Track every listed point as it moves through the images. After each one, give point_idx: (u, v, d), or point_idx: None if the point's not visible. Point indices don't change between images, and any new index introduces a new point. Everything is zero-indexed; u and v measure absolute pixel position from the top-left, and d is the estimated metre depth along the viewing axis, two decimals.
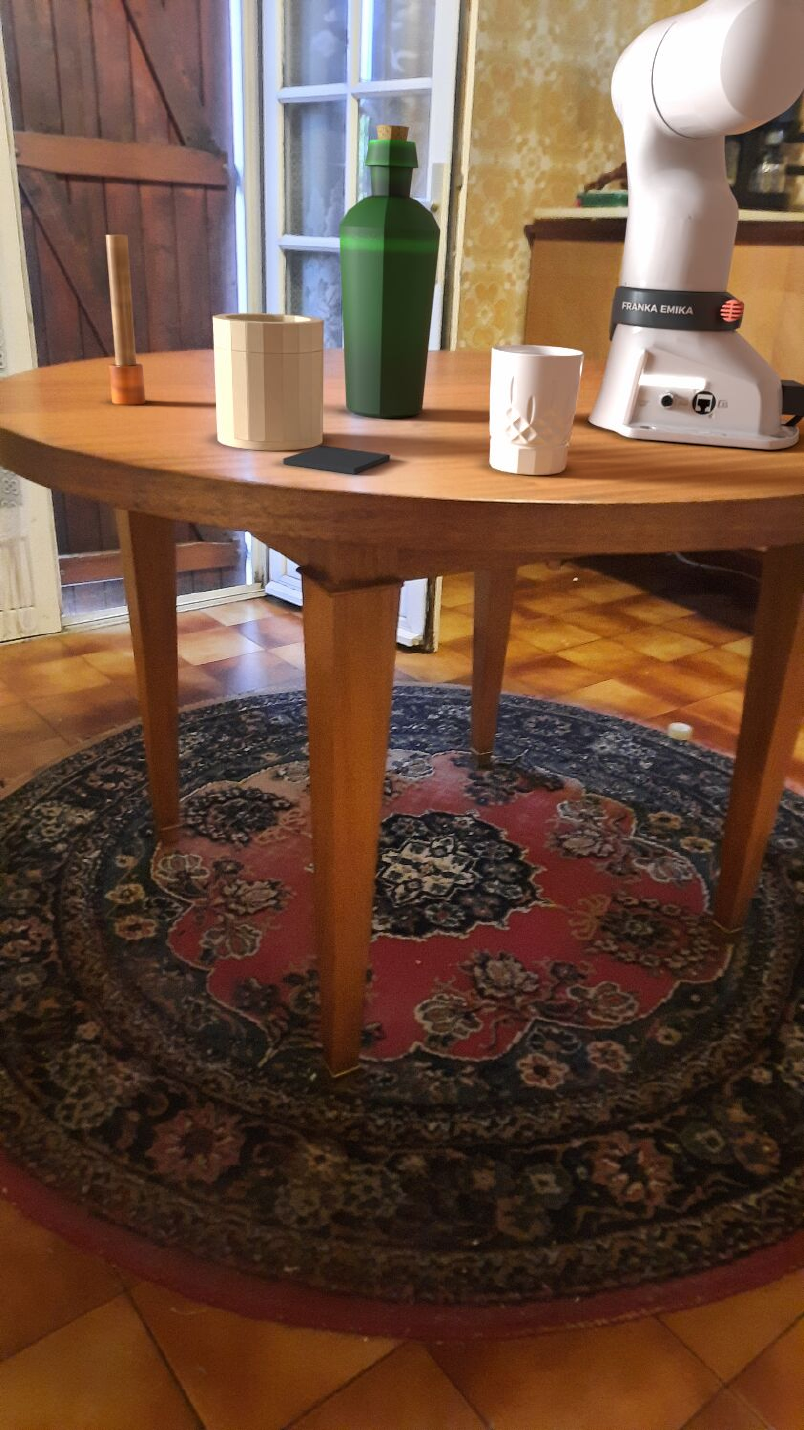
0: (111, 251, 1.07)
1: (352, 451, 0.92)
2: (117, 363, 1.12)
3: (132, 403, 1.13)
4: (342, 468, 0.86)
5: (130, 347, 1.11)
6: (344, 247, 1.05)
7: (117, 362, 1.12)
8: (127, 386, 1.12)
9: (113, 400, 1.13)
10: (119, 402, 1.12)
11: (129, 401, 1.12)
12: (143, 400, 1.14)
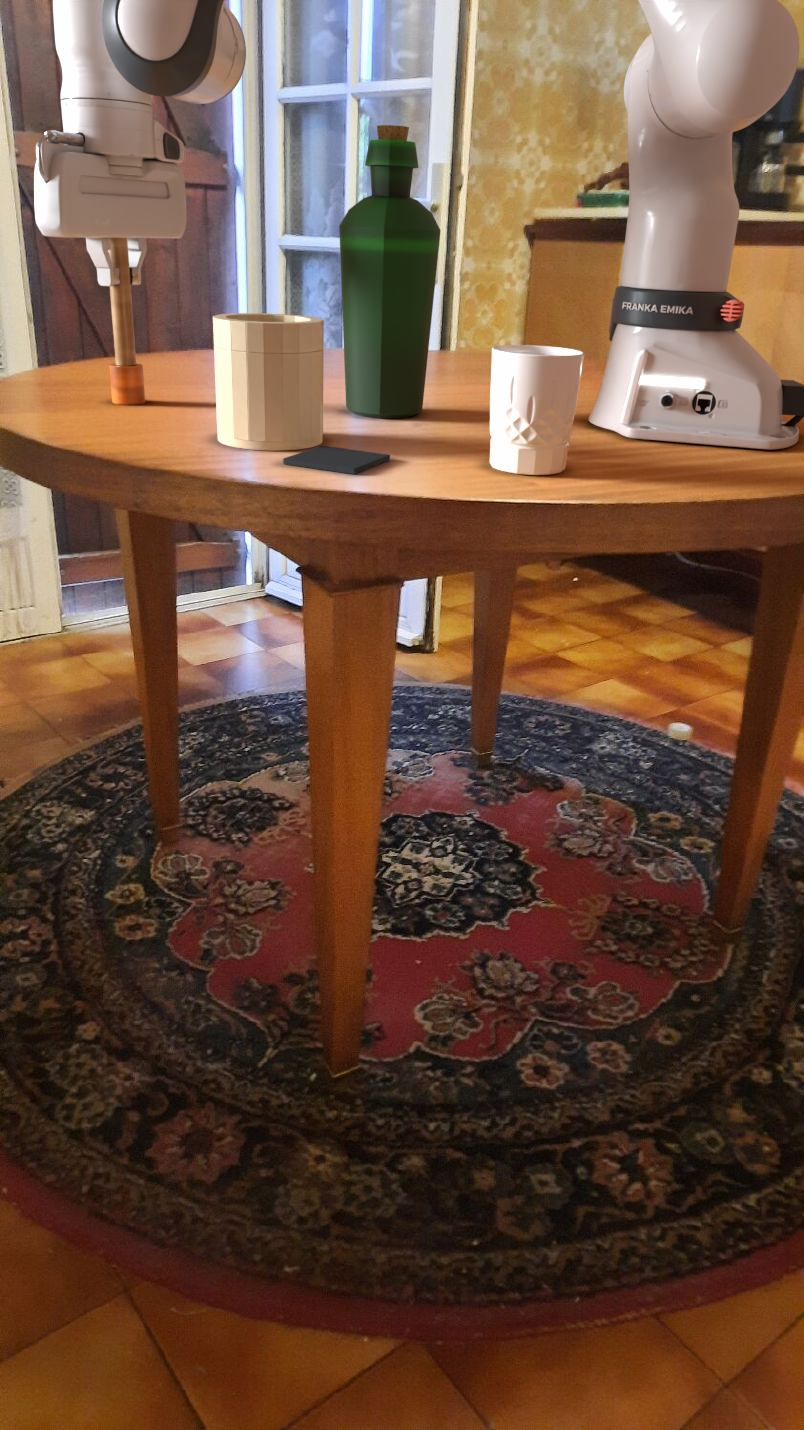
0: (111, 251, 1.07)
1: (352, 451, 0.92)
2: (117, 363, 1.12)
3: (132, 403, 1.13)
4: (342, 468, 0.86)
5: (130, 347, 1.11)
6: (344, 247, 1.05)
7: (117, 362, 1.12)
8: (127, 386, 1.12)
9: (113, 400, 1.13)
10: (119, 402, 1.12)
11: (129, 401, 1.12)
12: (143, 400, 1.14)
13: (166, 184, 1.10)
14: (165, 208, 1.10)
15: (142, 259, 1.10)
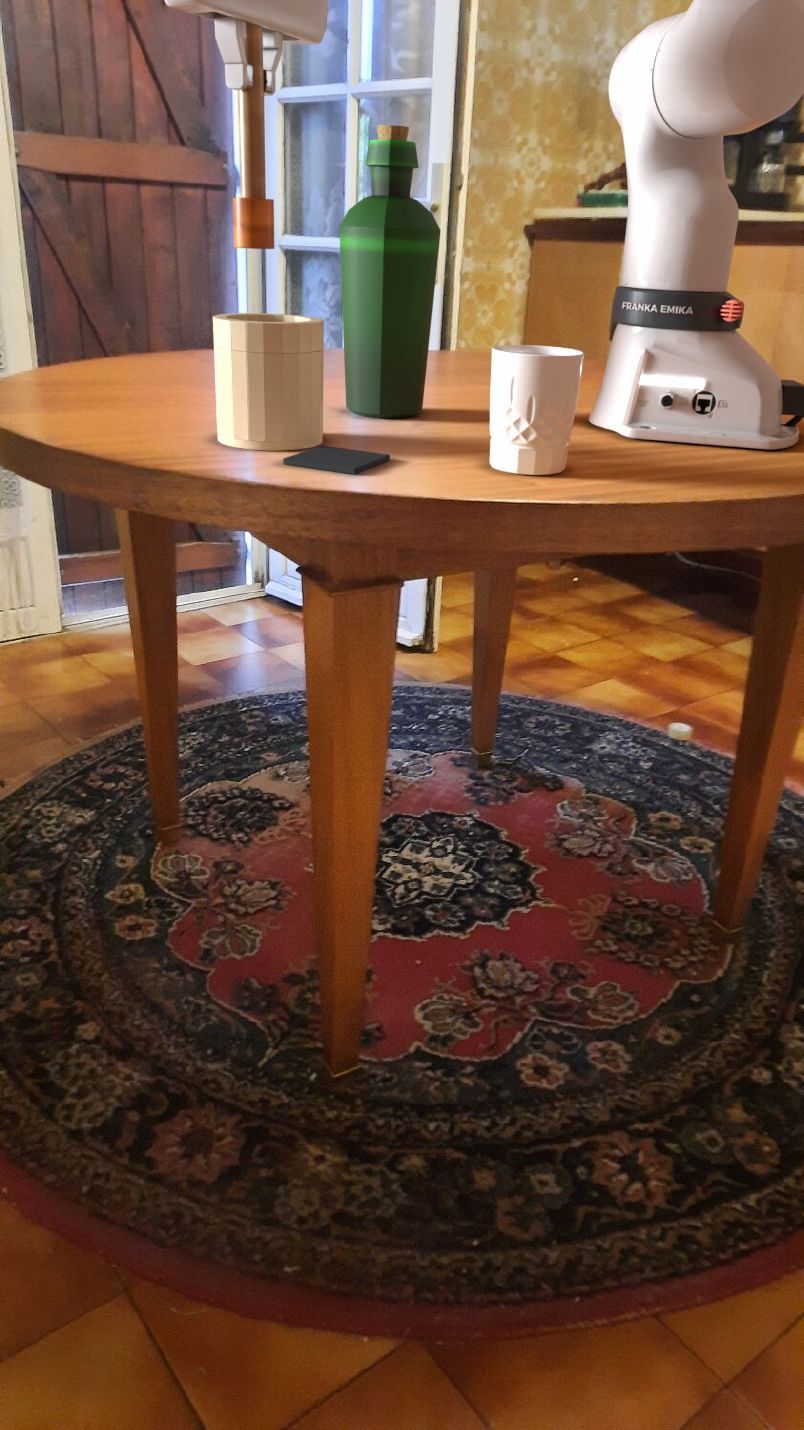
0: (243, 43, 0.84)
1: (352, 451, 0.92)
2: (243, 195, 0.89)
3: (260, 247, 0.91)
4: (342, 468, 0.86)
5: (260, 174, 0.89)
6: (344, 247, 1.05)
7: (243, 194, 0.89)
8: (256, 224, 0.90)
9: (236, 244, 0.91)
10: (245, 245, 0.90)
11: (257, 244, 0.90)
12: (273, 245, 0.92)
13: None
14: None
15: (277, 61, 0.88)
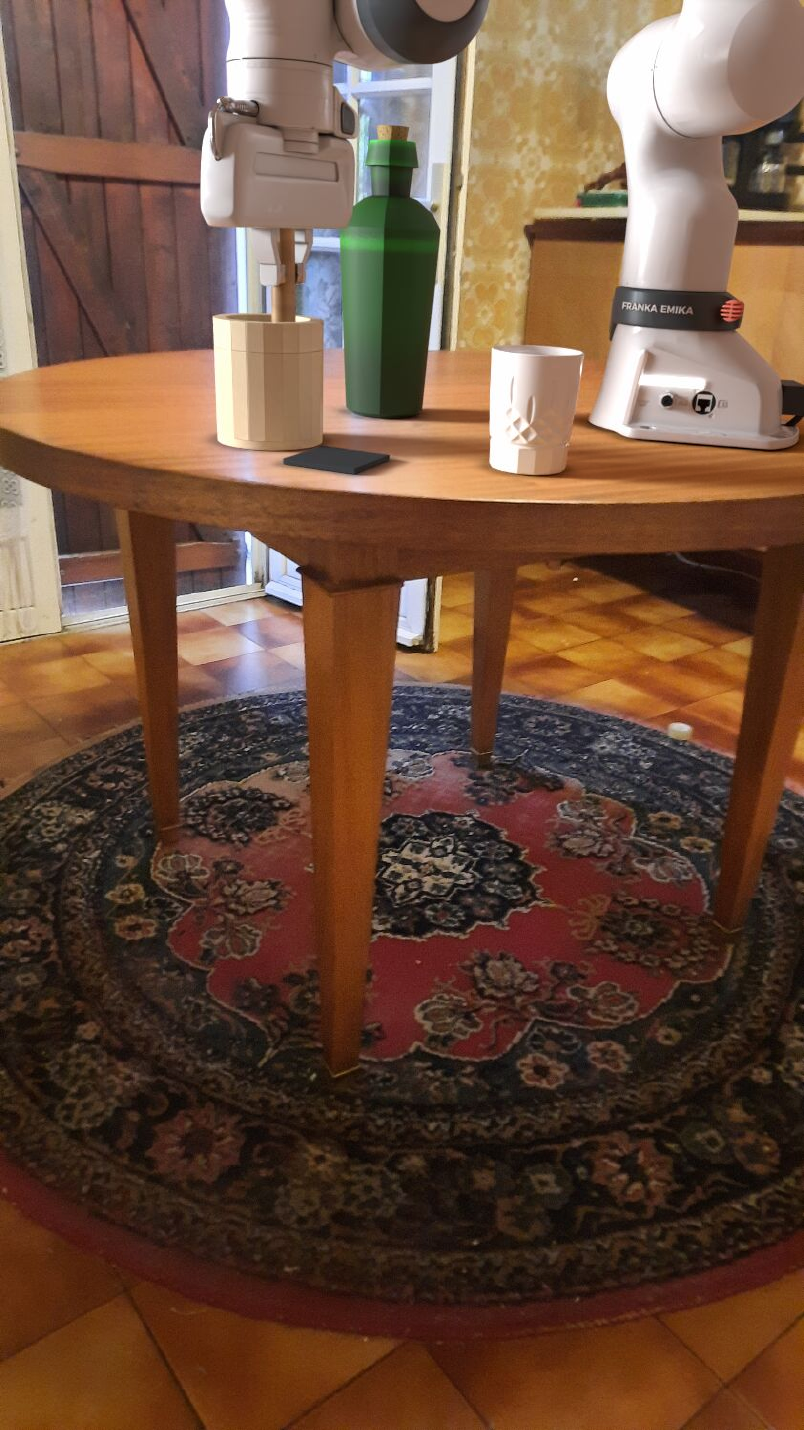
0: None
1: (352, 451, 0.92)
2: None
3: None
4: (342, 468, 0.86)
5: None
6: (344, 247, 1.05)
7: None
8: None
9: None
10: None
11: None
12: None
13: (336, 165, 0.92)
14: (334, 193, 0.93)
15: (308, 254, 0.93)
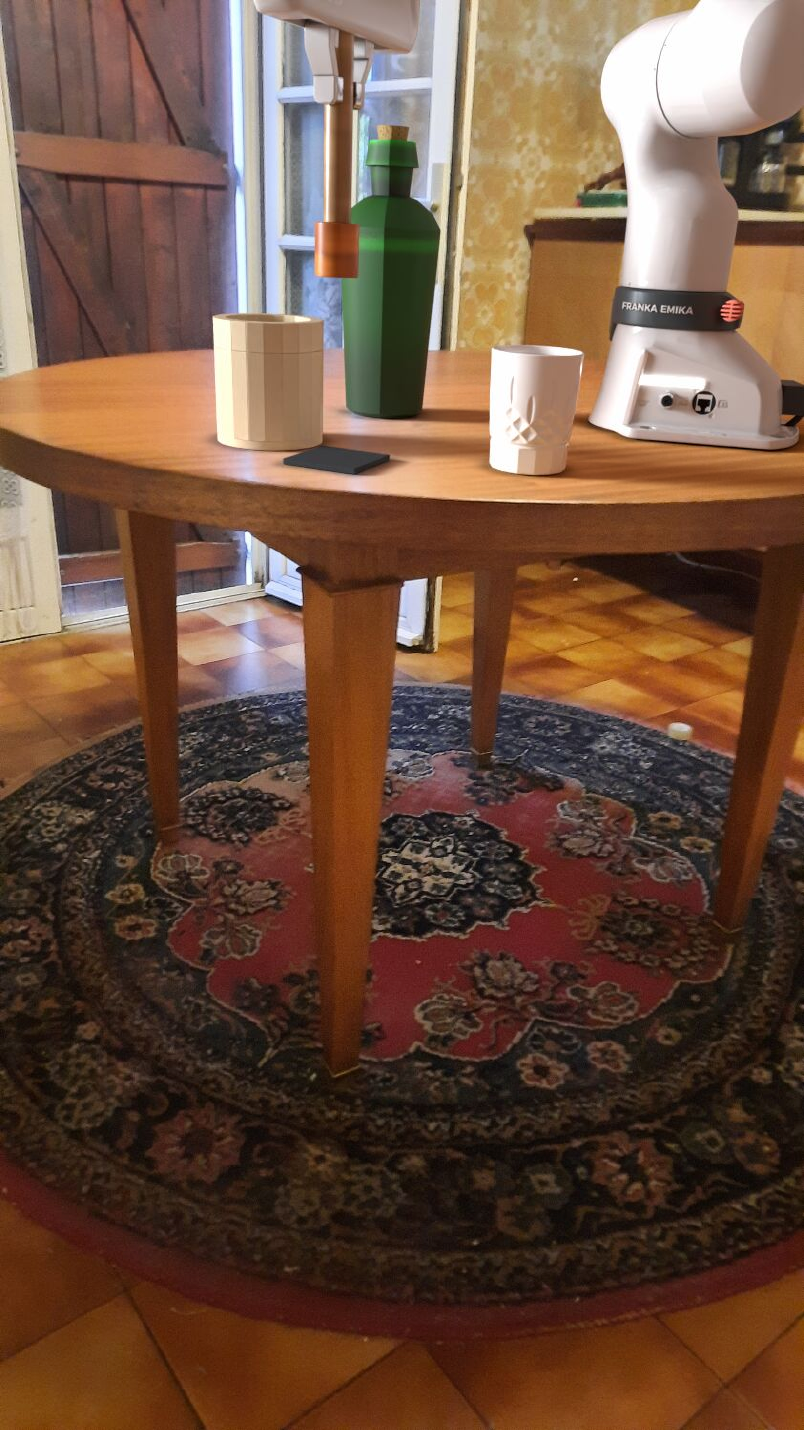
0: None
1: (352, 451, 0.92)
2: (327, 219, 0.81)
3: (345, 276, 0.82)
4: (342, 468, 0.86)
5: (347, 196, 0.81)
6: None
7: (327, 218, 0.81)
8: (341, 251, 0.82)
9: (318, 272, 0.83)
10: (328, 274, 0.82)
11: (341, 273, 0.82)
12: (357, 273, 0.83)
13: None
14: (398, 3, 0.80)
15: (367, 73, 0.80)
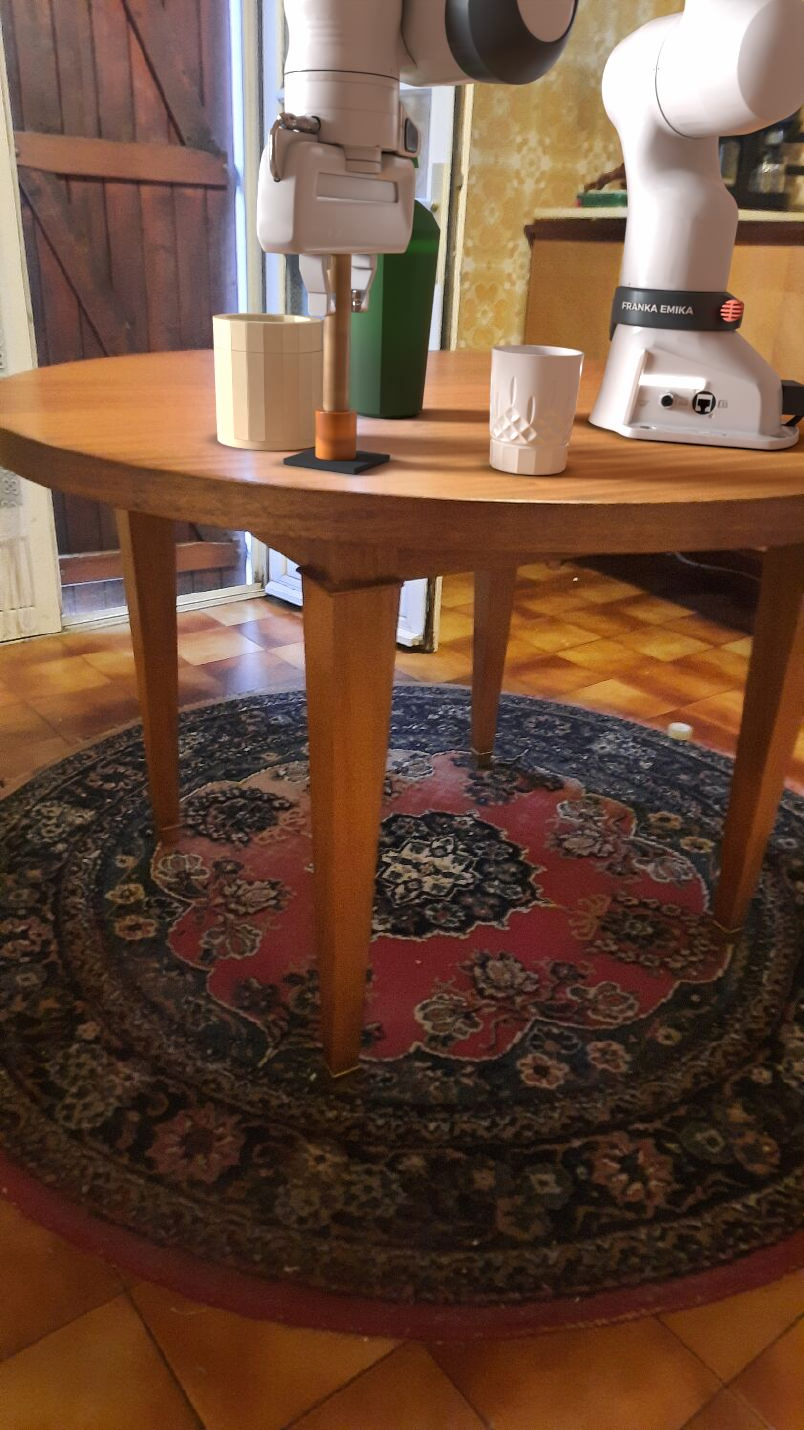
0: (332, 266, 0.82)
1: None
2: (327, 408, 0.87)
3: (343, 458, 0.89)
4: (342, 468, 0.86)
5: (345, 388, 0.87)
6: None
7: (327, 407, 0.87)
8: (340, 437, 0.88)
9: (318, 454, 0.89)
10: (328, 457, 0.88)
11: (340, 456, 0.88)
12: (355, 454, 0.90)
13: (396, 185, 0.86)
14: (393, 215, 0.86)
15: (371, 280, 0.87)
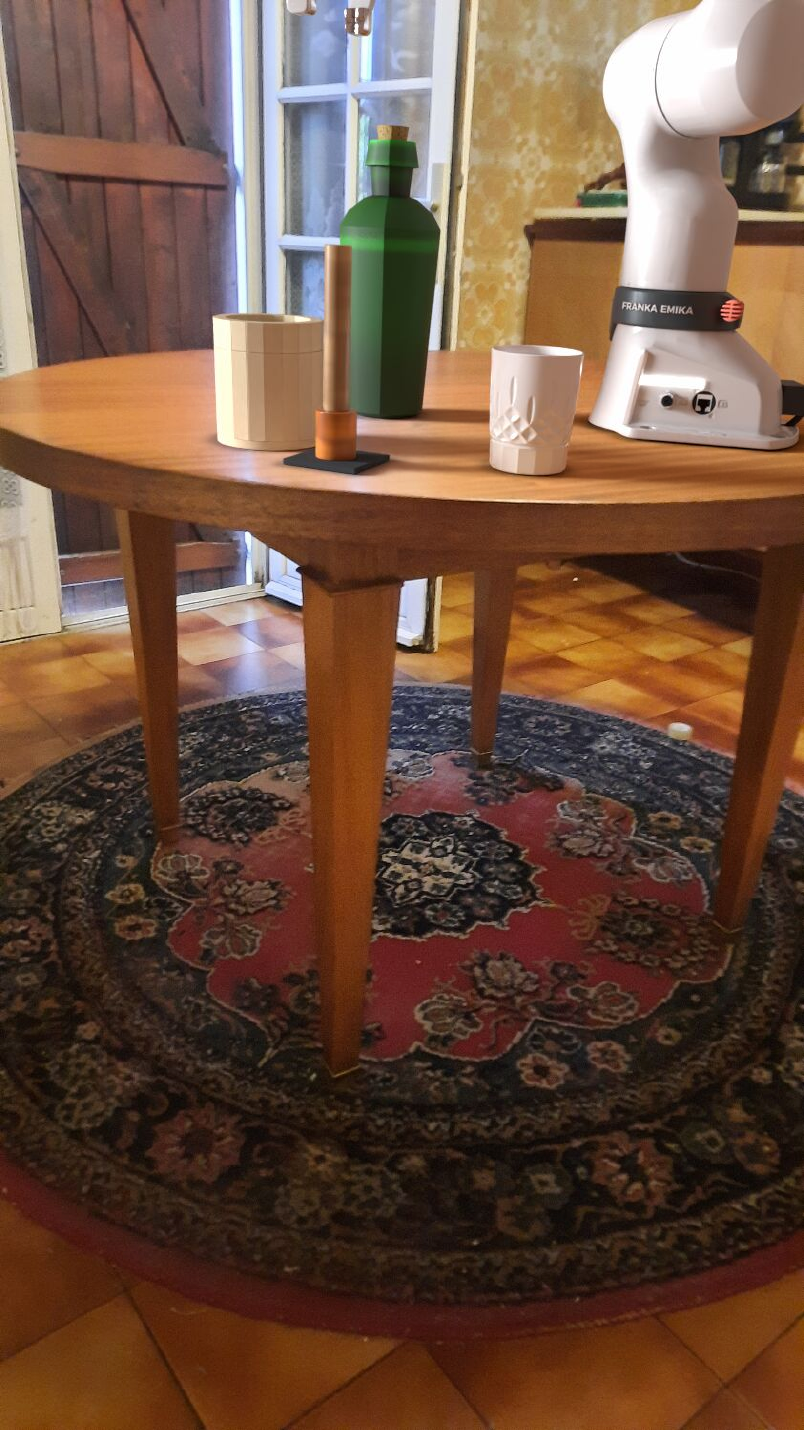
0: (332, 266, 0.82)
1: None
2: (327, 408, 0.87)
3: (343, 458, 0.89)
4: (342, 468, 0.86)
5: (345, 388, 0.87)
6: None
7: (327, 407, 0.87)
8: (340, 437, 0.88)
9: (318, 454, 0.89)
10: (328, 457, 0.88)
11: (340, 456, 0.88)
12: (355, 454, 0.90)
13: None
14: None
15: None
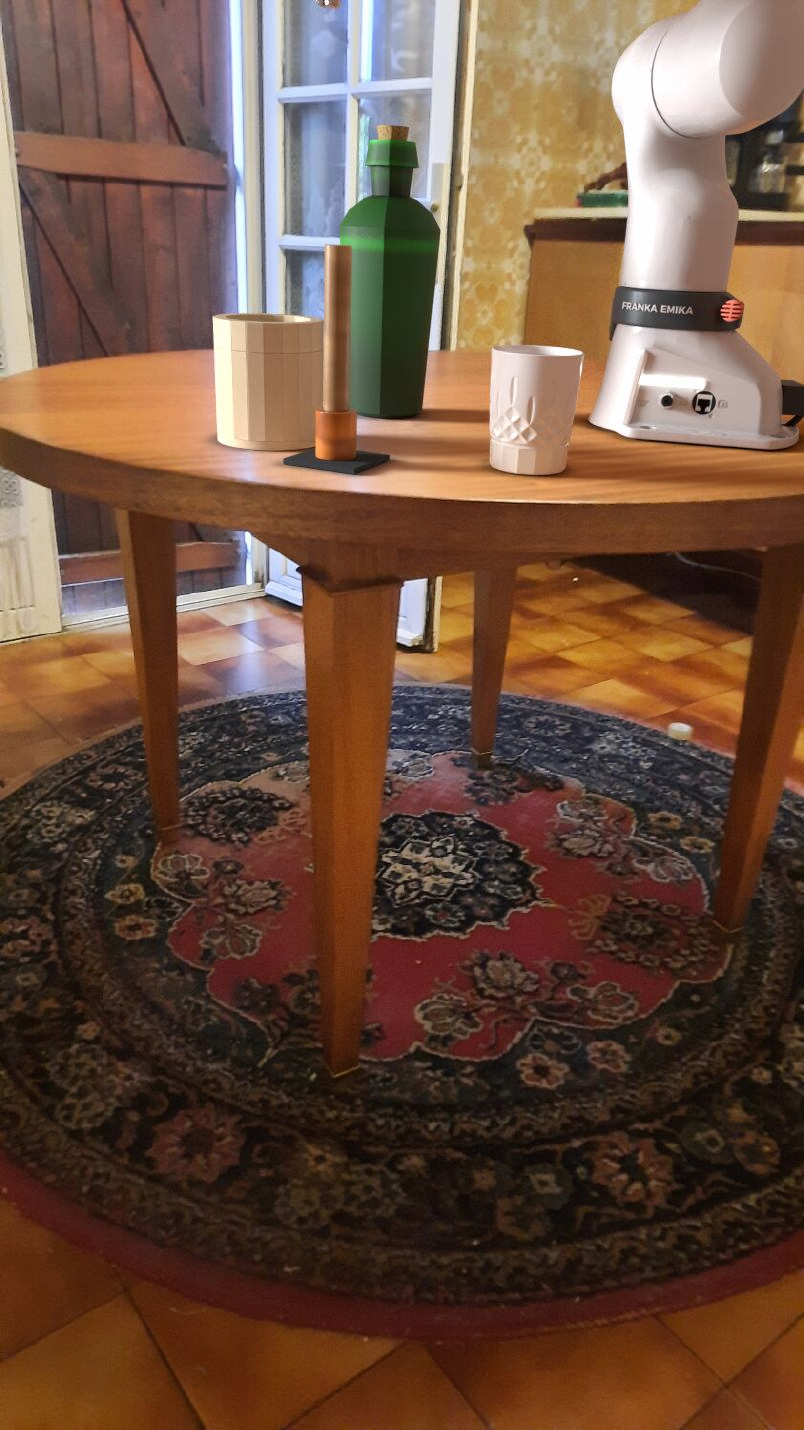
0: (332, 266, 0.82)
1: None
2: (327, 408, 0.87)
3: (343, 458, 0.89)
4: (342, 468, 0.86)
5: (345, 388, 0.87)
6: None
7: (327, 407, 0.87)
8: (340, 437, 0.88)
9: (318, 454, 0.89)
10: (328, 457, 0.88)
11: (340, 456, 0.88)
12: (355, 454, 0.90)
13: None
14: None
15: None
